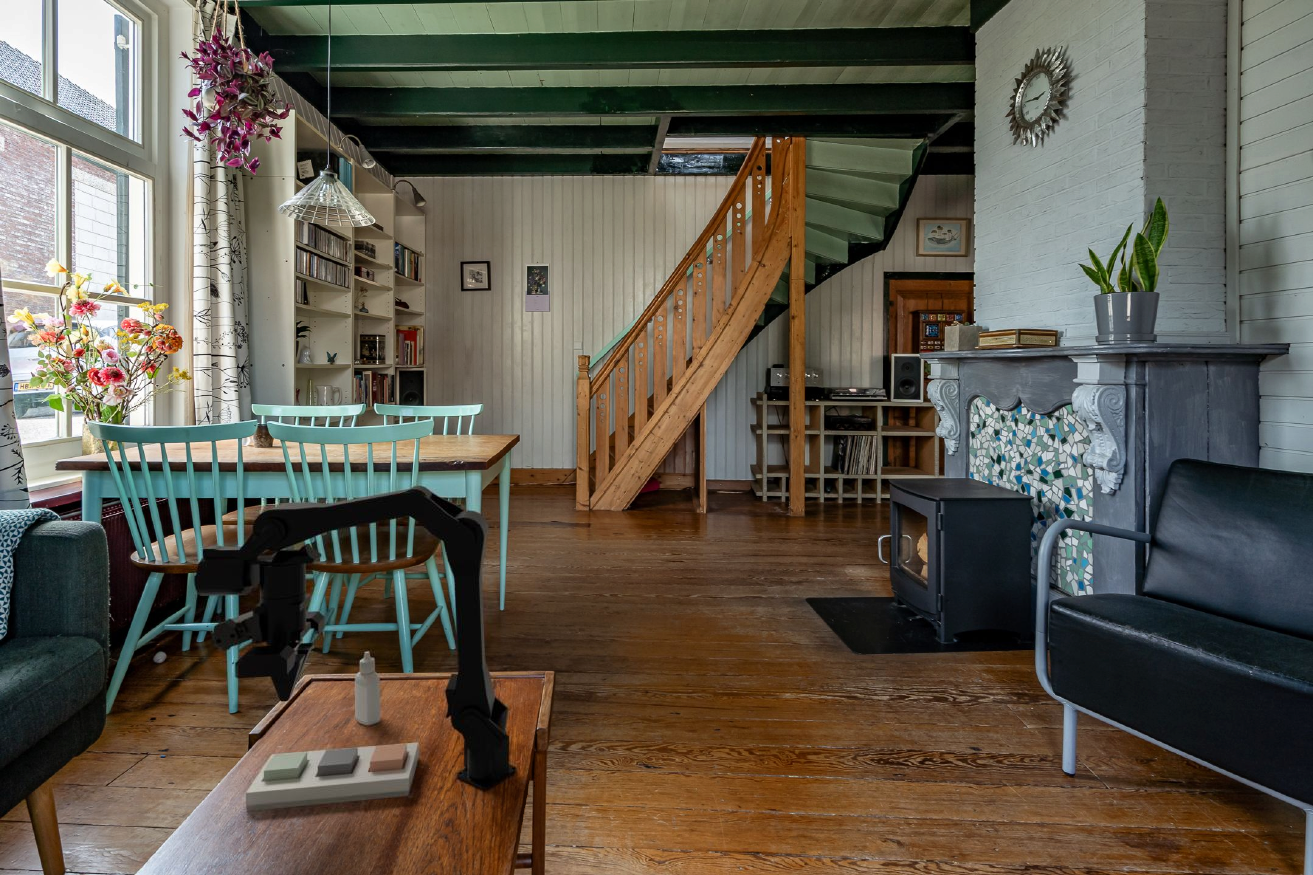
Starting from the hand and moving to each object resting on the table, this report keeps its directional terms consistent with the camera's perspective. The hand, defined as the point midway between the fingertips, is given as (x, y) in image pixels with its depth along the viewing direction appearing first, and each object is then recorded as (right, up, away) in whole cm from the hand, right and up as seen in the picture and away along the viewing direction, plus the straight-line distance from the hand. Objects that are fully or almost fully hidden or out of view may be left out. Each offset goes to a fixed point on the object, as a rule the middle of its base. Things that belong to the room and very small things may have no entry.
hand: (285, 700), depth 97 cm
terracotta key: (+13, -11, +4) cm, 18 cm away
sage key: (0, -11, +1) cm, 11 cm away
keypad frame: (+7, -13, +2) cm, 15 cm away
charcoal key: (+7, -11, +2) cm, 13 cm away
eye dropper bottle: (+3, -12, +22) cm, 25 cm away
